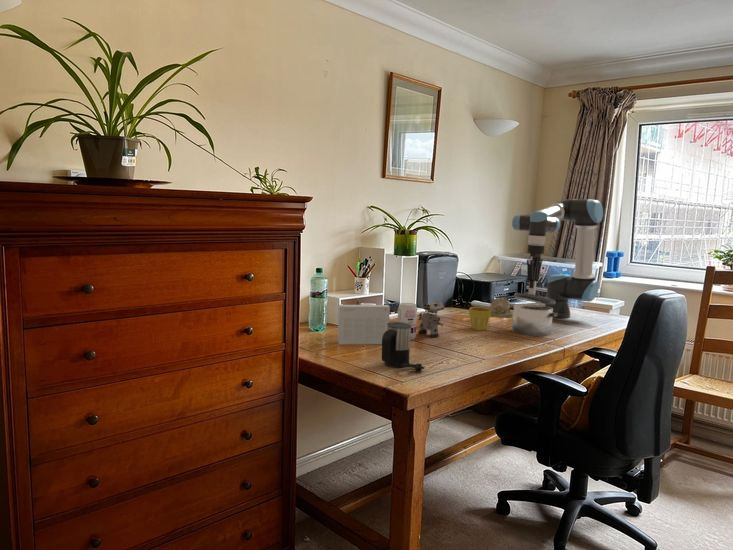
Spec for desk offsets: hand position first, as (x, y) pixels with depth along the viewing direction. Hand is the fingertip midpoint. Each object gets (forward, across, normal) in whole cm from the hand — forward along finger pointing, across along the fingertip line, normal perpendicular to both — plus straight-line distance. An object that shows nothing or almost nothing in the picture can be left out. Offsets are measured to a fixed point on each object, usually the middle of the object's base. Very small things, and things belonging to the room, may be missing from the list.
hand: (531, 294), depth 262 cm
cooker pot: (+18, -5, 0) cm, 19 cm away
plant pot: (+19, +12, -20) cm, 30 cm away
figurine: (+19, +40, -28) cm, 53 cm away
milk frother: (+20, +90, -7) cm, 93 cm away
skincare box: (+20, +76, -39) cm, 87 cm away
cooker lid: (+3, -4, 0) cm, 5 cm away
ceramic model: (+18, -29, -29) cm, 45 cm away
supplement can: (+20, +54, -32) cm, 66 cm away
